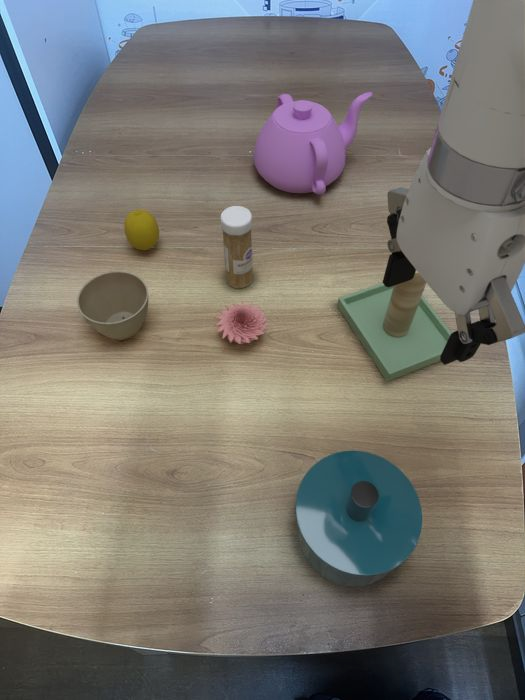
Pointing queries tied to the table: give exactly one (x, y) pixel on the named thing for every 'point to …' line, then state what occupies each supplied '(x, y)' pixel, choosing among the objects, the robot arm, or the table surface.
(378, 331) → the tray
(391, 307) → the stick
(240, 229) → the sprinkles bottle
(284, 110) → the teapot
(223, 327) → the flower
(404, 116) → the table surface
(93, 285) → the bowl
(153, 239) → the lemon
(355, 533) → the pot lid
